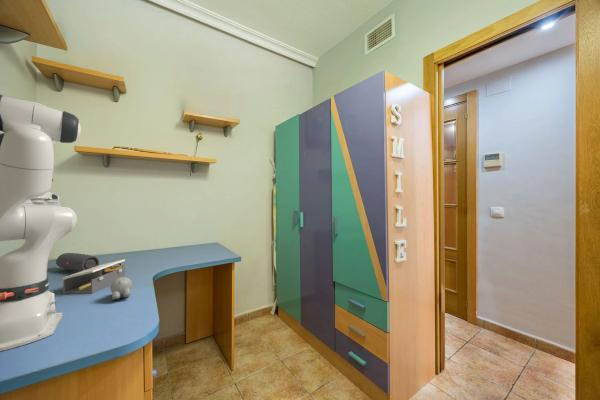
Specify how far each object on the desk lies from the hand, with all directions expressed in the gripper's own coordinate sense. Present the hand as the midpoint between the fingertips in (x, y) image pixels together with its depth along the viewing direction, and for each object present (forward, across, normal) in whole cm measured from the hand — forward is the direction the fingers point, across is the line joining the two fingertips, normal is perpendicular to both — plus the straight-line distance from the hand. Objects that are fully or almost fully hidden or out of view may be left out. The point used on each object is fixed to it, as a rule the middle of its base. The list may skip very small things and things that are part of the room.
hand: (35, 226), depth 103 cm
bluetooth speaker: (+26, +32, +12) cm, 43 cm away
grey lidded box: (+30, +9, -17) cm, 36 cm away
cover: (+23, +8, -18) cm, 30 cm away
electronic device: (+29, +31, -8) cm, 44 cm away
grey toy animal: (+34, -5, -37) cm, 51 cm away
